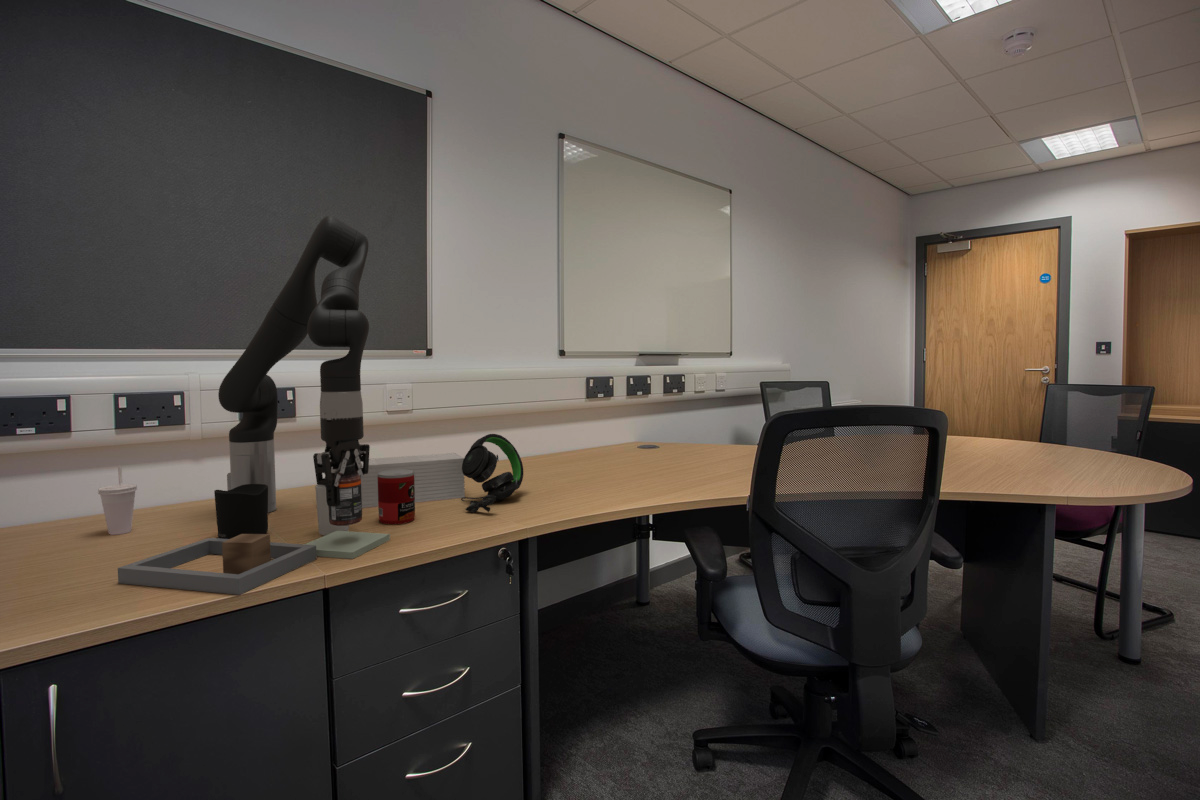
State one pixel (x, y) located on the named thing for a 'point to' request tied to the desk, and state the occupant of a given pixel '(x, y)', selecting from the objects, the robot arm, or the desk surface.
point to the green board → (347, 543)
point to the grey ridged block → (418, 477)
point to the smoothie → (118, 505)
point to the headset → (482, 466)
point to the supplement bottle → (347, 499)
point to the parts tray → (161, 574)
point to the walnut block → (245, 552)
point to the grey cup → (325, 513)
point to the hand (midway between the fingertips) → (344, 501)
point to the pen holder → (242, 510)
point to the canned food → (396, 496)
